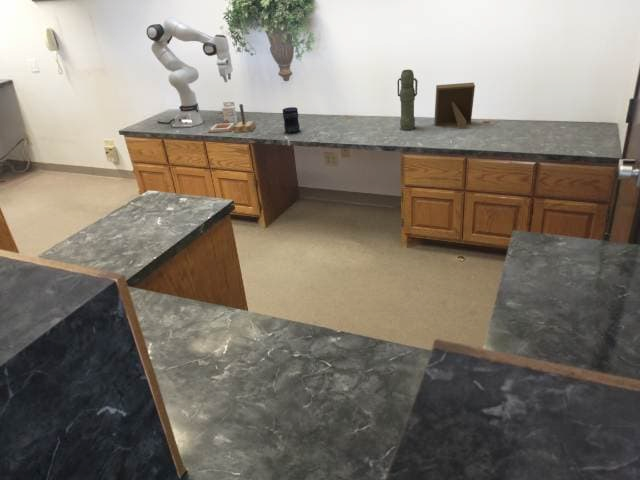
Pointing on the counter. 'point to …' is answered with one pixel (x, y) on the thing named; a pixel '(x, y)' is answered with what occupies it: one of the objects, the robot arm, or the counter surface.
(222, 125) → the loop
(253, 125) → the stand
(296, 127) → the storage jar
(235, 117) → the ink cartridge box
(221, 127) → the mat
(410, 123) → the thermos
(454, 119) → the photo frame
